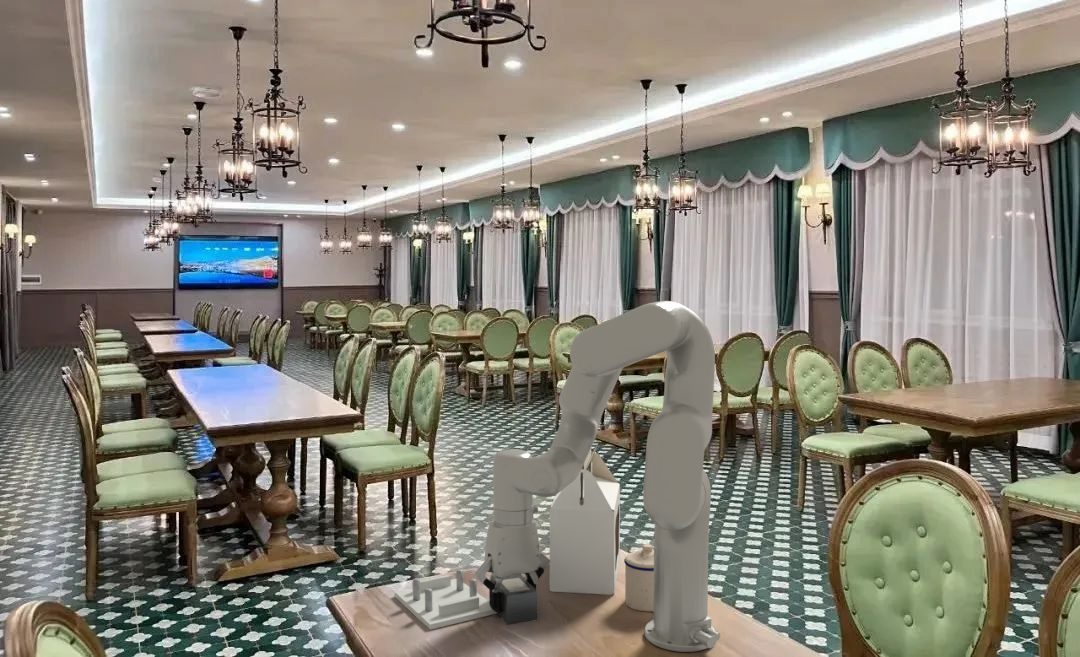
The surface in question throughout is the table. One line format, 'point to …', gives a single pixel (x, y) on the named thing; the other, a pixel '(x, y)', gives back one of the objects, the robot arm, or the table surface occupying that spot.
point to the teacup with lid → (640, 579)
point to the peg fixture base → (444, 600)
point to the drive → (518, 600)
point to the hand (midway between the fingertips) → (513, 605)
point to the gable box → (586, 532)
